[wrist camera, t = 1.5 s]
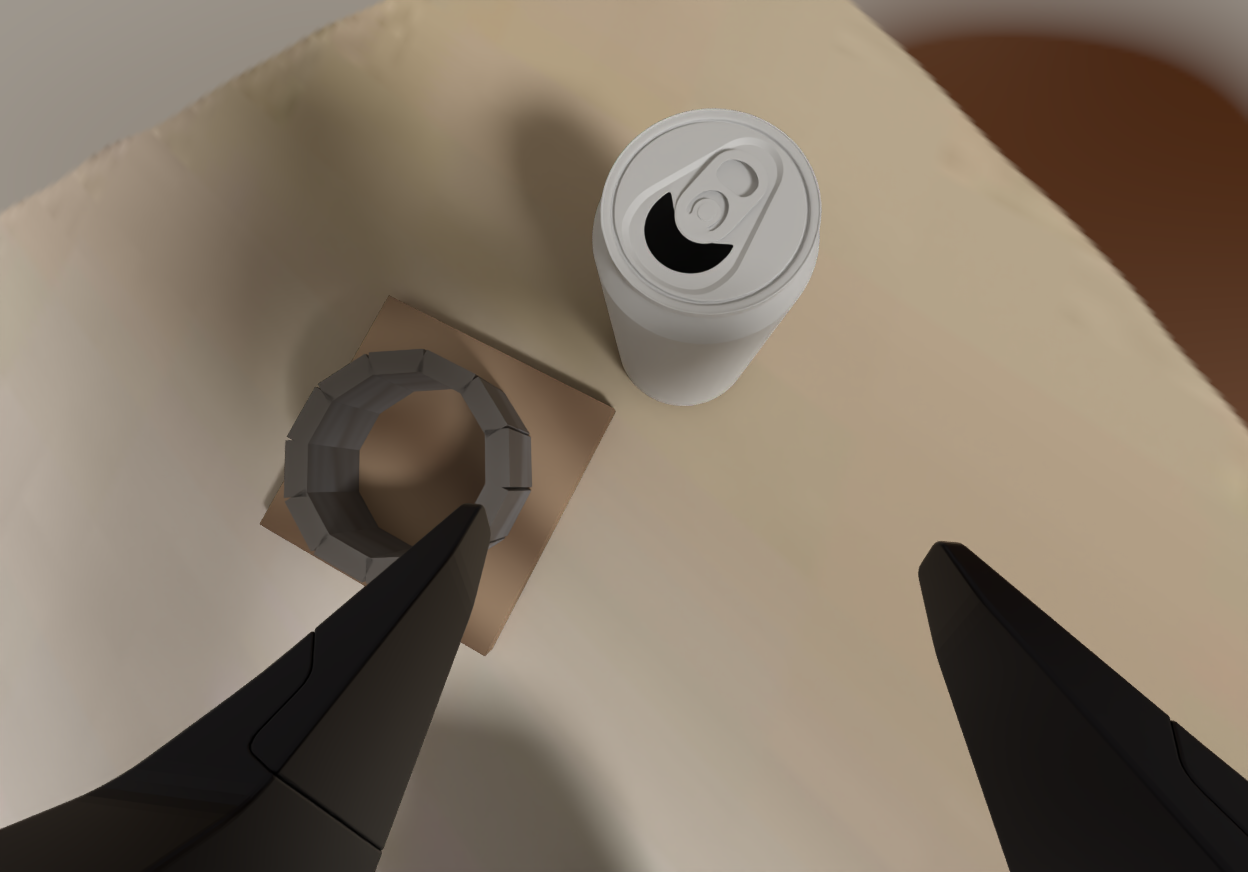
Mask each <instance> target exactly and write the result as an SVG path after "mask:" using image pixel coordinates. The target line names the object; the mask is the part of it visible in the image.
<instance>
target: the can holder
mask: <svg viewBox="0 0 1248 872" xmlns="http://www.w3.org/2000/svg"><path fill="white" fill-rule="evenodd" d="M318 385H319V387H320V388H317V387H315V388H314V390H313V391H312V393H311V395H310V397H309V398H308V400H307V402H306V404H305V405H304V407H303V409H302V411H301V412H300V414H299V416H298V418H297V420H296V421H295V423H294V425H293V427H292V428H291V430H290V432H289V434H288V435H287V437H288V438H290V439H292V440H288V441H286V443H285V473H284V482H283V483H282V485H281V487H280V489H279V490H278V492H277V494H276V496H275V497H274V499H273V501H272V503H271V505H270V506H269V508H268V510H267V512H266V513H265V515H264V517H263V519H262V520H261V522H260V525H262V526H263V527H265V528H267V529H269V530H270V531H272V532H274V533H275V534H277V535H279V536H280V537H282V538H284V539H286V540H287V541H289V542H291V543H292V544H294V545H296V546H298V547H299V548H301V549H303V550H304V551H306V552H308V553H309V554H311V555H313V556H315V557H316V558H318V559H320V560H321V561H323V562H325V563H327V564H328V565H330V566H332V567H333V568H335V569H337V570H338V571H340V572H342V573H344V574H345V575H347V576H349V577H350V578H352V579H354V580H356V581H357V582H359V583H361V584H362V585H364V586H366V585H367V584H368V583H369V582H371V581H372V580H373V579H374V578H375V577H377V576H378V575H379V574H380V573H381V572H382V571H384V570H385V569H386V568H387V567H388V566H390V565H391V564H392V563H393V562H394V561H395V560H397V559H398V558H399V557H400V556H401V555H403V554H404V553H405V552H406V551H407V550H408V549H410V548H411V547H412V546H413V545H414V544H416V543H417V542H418V541H419V540H420V539H421V538H423V537H424V536H425V535H426V534H427V533H428V532H430V531H431V530H432V529H433V528H434V527H436V526H437V525H438V524H439V523H440V522H441V521H443V520H444V519H445V518H446V517H447V516H449V515H450V514H451V513H452V512H453V511H454V510H456V509H457V508H458V507H459V506H460V505H462V504H465V503H471V504H481V505H483V506H484V508H485V510H486V514H487V518H488V522H489V525H490V530H491V538H490V543H489V547H488V551H487V555H486V559H485V563H484V567H483V571H482V575H481V579H480V583H479V587H478V591H477V595H476V599H475V603H474V606H473V610H472V612H471V615H470V618H469V621H468V624H467V626H466V629H465V632H464V634H463V637H462V640H461V643H463V644H465V645H466V646H468V647H470V648H472V649H473V650H475V651H477V652H478V653H480V654H482V655H483V656H486V655H487V654H488V653H489V652H490V651H491V650H492V648H493V646H494V645H495V643H496V641H497V639H498V637H499V635H500V633H501V631H502V629H503V627H504V625H505V623H506V621H507V620H508V618H509V616H510V614H511V612H512V610H513V608H514V606H515V604H516V602H517V600H518V598H519V596H520V595H521V593H522V591H523V589H524V587H525V585H526V583H527V581H528V579H529V577H530V575H531V573H532V571H533V570H534V568H535V566H536V564H537V562H538V560H539V558H540V556H541V554H542V552H543V550H544V548H545V546H546V545H547V543H548V541H549V539H550V537H551V535H552V533H553V531H554V529H555V527H556V525H557V523H558V521H559V520H560V518H561V516H562V514H563V512H564V510H565V508H566V506H567V504H568V502H569V500H570V498H571V496H572V495H573V493H574V491H575V489H576V487H577V485H578V483H579V481H580V479H581V477H582V475H583V473H584V471H585V470H586V468H587V466H588V464H589V462H590V460H591V458H592V456H593V454H594V452H595V450H596V448H597V446H598V445H599V443H600V441H601V439H602V437H603V435H604V433H605V431H606V429H607V427H608V425H609V423H610V422H611V420H612V418H613V416H614V414H615V412H616V411H615V410H614V408H612V407H610V406H608V405H606V404H604V403H602V402H600V401H598V400H596V399H594V398H592V397H590V396H588V395H586V394H584V393H582V392H580V391H578V390H576V389H574V388H572V387H570V386H568V385H566V384H564V383H562V382H560V381H558V380H556V379H554V378H552V377H550V376H548V375H546V374H544V373H542V372H540V371H538V370H536V369H534V368H533V367H531V366H529V365H527V364H525V363H523V362H521V361H519V360H517V359H515V358H513V357H511V356H509V355H507V354H505V353H503V352H501V351H499V350H497V349H495V348H493V347H491V346H489V345H487V344H485V343H483V342H481V341H479V340H477V339H475V338H473V337H471V336H469V335H467V334H465V333H463V332H461V331H459V330H457V329H455V328H453V327H451V326H449V325H447V324H445V323H443V322H441V321H439V320H437V319H435V318H433V317H431V316H429V315H427V314H425V313H423V312H421V311H419V310H417V309H415V308H413V307H411V306H409V305H407V304H405V303H403V302H401V301H399V300H397V299H395V298H393V297H391V296H388V298H387V299H386V301H385V303H384V305H383V307H382V308H381V310H380V312H379V314H378V315H377V317H376V319H375V321H374V322H373V324H372V326H371V328H370V330H369V331H368V333H367V335H366V337H365V338H364V340H363V342H362V344H361V345H360V347H359V349H358V351H357V353H356V354H355V356H354V358H353V360H352V361H351V363H350V364H348V365H346V366H345V367H343V368H342V369H340V370H339V371H337V372H336V373H334V374H332V375H331V376H329V377H328V378H326V379H325V380H323V381H322V382H320V383H319V384H318Z"/></svg>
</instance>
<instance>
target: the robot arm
mask: <svg viewBox="0 0 1248 872" xmlns="http://www.w3.org/2000/svg"><path fill="white" fill-rule="evenodd" d="M490 538H491V530H490V525H489V522H488V518H487V514H486V510H485V508H484V506H483V505H481V504H471V503H465V504H462V505H460V506H459V507H458V508H457V509H456V510H454V511H453V512H452V513H451V514H450V515H449V516H447V517H446V518H445V519H444V520H443V521H441V522H440V523H439V524H438V525H437V526H436V527H434V528H433V529H432V530H431V531H430V532H428V533H427V534H426V535H425V536H424V537H423V538H421V539H420V540H419V541H418V542H417V543H416V544H414V545H413V546H412V547H411V548H410V549H408V550H407V551H406V552H405V553H404V554H403V555H401V556H400V557H399V558H398V559H397V560H395V561H394V562H393V563H392V564H391V565H390V566H388V567H387V568H386V569H385V570H384V571H382V572H381V573H380V574H379V575H378V576H377V577H375V578H374V579H373V580H372V581H371V582H369V583H368V584H367V585H366V586H365V587H364V588H362V589H361V590H360V591H359V592H358V593H357V594H355V595H354V596H353V597H352V598H351V599H349V600H348V601H347V602H346V603H345V604H344V605H342V606H341V607H340V608H339V609H338V610H336V611H335V612H334V613H333V614H332V615H331V616H329V617H328V618H327V619H326V620H325V621H323V622H322V623H321V624H320V625H319V626H318V627H316V629H315V632H310V633H309V634H308V635H307V636H306V637H304V638H303V639H302V640H301V641H300V642H298V643H297V644H296V645H295V646H294V647H293V648H291V649H290V650H289V651H288V652H286V653H285V654H284V655H283V656H282V657H280V658H279V659H278V660H277V661H275V662H274V663H273V664H272V665H270V666H269V667H268V668H267V669H266V670H264V671H263V672H262V673H260V674H259V675H258V676H257V677H255V678H254V679H253V680H251V681H250V682H249V683H247V684H246V685H245V686H243V687H242V688H241V689H239V690H238V691H237V692H235V693H234V694H233V695H232V696H230V697H229V698H228V699H226V700H225V701H223V702H222V703H221V704H219V705H218V706H217V707H215V708H214V709H213V710H211V711H210V712H208V713H207V714H206V715H204V716H203V717H202V718H200V719H199V720H198V721H196V722H195V723H193V724H192V725H191V726H189V727H188V728H187V729H185V730H184V731H183V732H181V733H180V734H179V735H177V736H176V737H174V738H173V739H172V740H170V741H169V742H168V743H166V744H165V745H164V746H162V747H161V748H159V749H158V750H157V751H155V752H154V753H153V754H151V755H150V756H149V757H147V758H146V759H144V760H143V761H141V762H140V763H139V764H137V765H136V766H134V767H133V768H131V769H130V770H128V771H126V772H125V773H123V774H122V775H120V776H118V777H117V778H115V779H113V780H111V781H110V782H108V783H106V784H104V785H102V786H101V787H99V788H97V789H95V790H93V791H91V792H89V793H87V794H85V795H82V796H80V797H78V798H75V799H73V800H71V801H68V802H66V803H63V804H61V805H58V806H56V807H54V808H51V809H49V810H46V811H44V812H41V813H39V814H36V815H34V816H31V817H29V818H26V819H24V820H22V821H19V822H17V823H14V824H12V825H9V826H7V827H4V828H2V829H0V872H375V870H376V867H377V865H378V862H379V859H380V857H381V854H382V852H381V850H383V848H384V845H385V843H386V840H387V837H388V835H389V832H390V829H391V827H392V824H393V821H394V819H395V816H396V813H397V811H398V808H399V805H400V803H401V800H402V797H403V795H404V792H405V789H406V787H407V784H408V781H409V779H410V776H411V773H412V771H413V768H414V765H415V763H416V760H417V757H418V755H419V752H420V749H421V747H422V744H423V741H424V739H425V736H426V733H427V731H428V728H429V725H430V723H431V720H432V717H433V714H434V712H435V709H436V706H437V704H438V701H439V698H440V696H441V693H442V690H443V688H444V685H445V682H446V680H447V677H448V674H449V672H450V669H451V666H452V664H453V661H454V658H455V656H456V653H457V650H458V648H459V645H460V642H461V640H462V637H463V634H464V632H465V629H466V626H467V624H468V621H469V618H470V615H471V612H472V610H473V606H474V603H475V599H476V595H477V591H478V587H479V583H480V579H481V575H482V571H483V567H484V563H485V559H486V555H487V551H488V547H489V543H490ZM918 577H919V582H920V586H921V591H922V595H923V600H924V604H925V609H926V613H927V618H928V623H929V627H930V632H931V636H932V641H933V644H934V648H935V652H936V656H937V659H938V662H939V665H940V668H941V671H942V674H943V677H944V680H945V683H946V686H947V689H948V692H949V694H950V697H951V700H952V703H953V706H954V709H955V712H956V715H957V718H958V721H959V724H960V727H961V730H962V733H963V736H964V738H965V741H966V744H967V747H968V750H969V753H970V756H971V759H972V762H973V765H974V768H975V771H976V774H977V777H978V780H979V782H980V785H981V788H982V791H983V794H984V797H985V800H986V803H987V806H988V809H989V812H990V815H991V818H992V821H993V824H994V826H995V829H996V832H997V835H998V838H999V841H1000V844H1001V847H1002V850H1003V853H1004V856H1005V859H1006V862H1007V865H1008V868H1009V870H1010V872H1248V781H1247V780H1246V779H1245V778H1244V777H1242V776H1241V775H1240V774H1239V773H1238V772H1236V771H1235V770H1234V769H1233V768H1231V767H1230V766H1229V765H1228V764H1226V763H1225V762H1224V761H1223V760H1222V759H1220V758H1219V757H1218V756H1217V755H1215V754H1214V753H1213V752H1212V751H1210V750H1209V749H1208V748H1207V747H1206V746H1204V745H1203V744H1202V743H1201V742H1200V741H1198V740H1197V739H1196V738H1195V737H1194V736H1192V735H1191V734H1190V733H1189V732H1188V731H1186V730H1185V729H1184V728H1183V727H1182V726H1180V725H1179V724H1178V723H1177V722H1175V721H1172V720H1171V721H1170V717H1169V716H1168V715H1167V714H1166V713H1165V712H1163V711H1162V710H1161V709H1160V708H1159V707H1157V706H1156V705H1155V704H1154V703H1153V702H1151V701H1150V700H1149V699H1148V698H1147V697H1145V696H1144V695H1143V694H1142V693H1141V692H1139V691H1138V690H1137V689H1136V688H1135V687H1133V686H1132V685H1131V684H1130V683H1129V682H1127V681H1126V680H1125V679H1124V678H1123V677H1121V676H1120V675H1119V674H1118V673H1117V672H1116V671H1114V670H1113V669H1112V668H1111V667H1110V666H1108V665H1107V664H1106V663H1105V662H1104V661H1102V660H1101V659H1100V658H1099V657H1098V656H1096V655H1095V654H1094V653H1093V652H1092V651H1090V650H1089V649H1088V648H1087V647H1086V646H1084V645H1083V644H1082V643H1081V642H1080V641H1078V640H1077V639H1076V638H1075V637H1074V636H1072V635H1071V634H1070V633H1069V632H1068V631H1066V630H1065V629H1064V628H1063V627H1062V626H1060V625H1059V624H1058V623H1057V622H1056V621H1054V620H1053V619H1052V618H1051V617H1050V616H1048V615H1047V614H1046V613H1045V612H1044V611H1043V610H1041V609H1040V608H1039V607H1038V606H1037V605H1035V604H1034V603H1033V602H1032V601H1031V600H1029V599H1028V598H1027V597H1026V596H1025V595H1023V594H1022V593H1021V592H1020V591H1019V590H1017V589H1016V588H1015V587H1014V586H1013V585H1011V584H1010V583H1009V582H1008V581H1007V580H1005V579H1004V578H1003V577H1002V576H1001V575H999V574H998V573H997V572H996V571H995V570H993V569H992V568H991V567H990V566H989V565H987V564H986V563H985V562H984V561H983V560H981V559H980V558H979V557H978V556H977V555H975V554H974V553H973V552H972V551H971V550H970V549H968V548H967V547H966V546H964V545H963V544H961V543H957V542H947V541H938V542H936V543H935V544H934V545H933V546H932V548H931V549H930V551H929V552H928V554H927V555H926V557H925V558H924V560H923V561H922V563H921V565H920V567H919V571H918Z"/></svg>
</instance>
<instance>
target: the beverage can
mask: <svg viewBox="0 0 1248 872" xmlns="http://www.w3.org/2000/svg"><path fill="white" fill-rule="evenodd" d="M820 222H821V197H820V191H819V186H818V182H817V179H816V176H815V174H814V171H813V169H812V167H811V165H810V163H809V161H808V159H807V158H806V156H805V155H804V153H803V152H802V151H801V149H800V148H799V147H798V146H797V144H796V143H795V142H794V141H793V140H792V139H791V138H790V137H788V136H787V135H786V134H785V133H784V132H783V131H781V130H780V129H778V128H777V127H775V126H774V125H772V124H771V123H769V122H767V121H765V120H763V119H761V118H758V117H756V116H754V115H751V114H748V113H744V112H740V111H735V110H729V109H717V108H710V109H697V110H691V111H686V112H682V113H679V114H676V115H673V116H670V117H668V118H665V119H663V120H661V121H659V122H657V123H655V124H654V125H652V126H650V127H649V128H647V129H646V130H644V131H643V132H642V133H640V134H639V135H638V136H637V137H636V138H634V139H633V140H632V141H631V142H630V143H629V144H628V145H627V146H626V148H625V149H624V150H623V151H622V152H621V154H620V155H619V157H618V158H617V160H616V161H615V163H614V165H613V167H612V168H611V170H610V172H609V175H608V177H607V180H606V183H605V185H604V189H603V193H602V197H601V199H600V202H599V205H598V208H597V211H596V214H595V219H594V225H593V232H592V243H593V255H594V259H595V263H596V267H597V270H598V274H599V278H600V282H601V286H602V290H603V293H604V297H605V301H606V305H607V309H608V312H609V316H610V320H611V324H612V328H613V331H614V335H615V339H616V343H617V347H618V350H619V354H620V358H621V361H622V364H623V367H624V370H625V372H626V373H627V375H628V376H629V378H630V379H631V381H632V382H633V383H634V384H635V385H636V386H637V387H638V388H639V389H640V390H641V391H642V392H644V393H645V394H646V395H648V396H649V397H651V398H653V399H655V400H657V401H660V402H663V403H666V404H670V405H677V406H691V405H697V404H701V403H705V402H708V401H710V400H712V399H715V398H716V397H718V396H720V395H721V394H723V393H724V392H726V391H727V390H728V389H729V388H730V387H731V386H732V385H733V384H734V383H735V382H736V380H737V379H738V378H739V376H740V375H741V374H742V372H743V371H744V370H745V368H746V367H747V366H748V364H749V363H750V362H751V361H752V359H753V358H754V357H755V355H756V354H757V353H758V351H759V350H760V349H761V347H762V346H763V345H764V343H765V342H766V341H767V339H768V338H769V337H770V335H771V334H772V333H773V331H774V330H775V329H776V327H777V326H778V325H779V323H780V322H781V321H782V319H783V318H784V317H785V315H786V314H787V313H788V311H789V310H790V309H791V307H792V306H793V305H794V303H795V302H796V301H797V299H798V298H799V296H800V295H801V294H802V292H803V291H804V289H805V287H806V285H807V284H808V282H809V280H810V277H811V275H812V273H813V270H814V267H815V264H816V260H817V256H818V250H819V239H820V233H819V228H820Z"/></svg>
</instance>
